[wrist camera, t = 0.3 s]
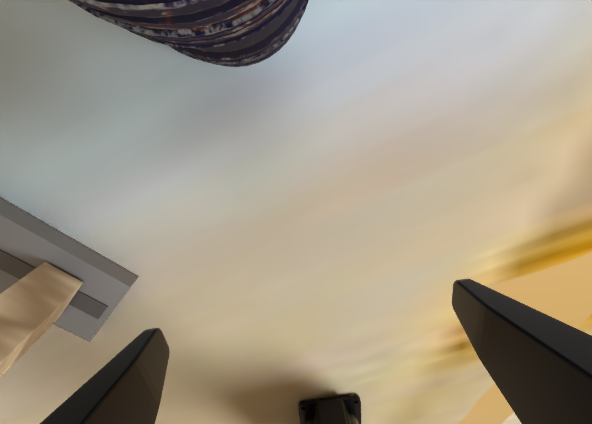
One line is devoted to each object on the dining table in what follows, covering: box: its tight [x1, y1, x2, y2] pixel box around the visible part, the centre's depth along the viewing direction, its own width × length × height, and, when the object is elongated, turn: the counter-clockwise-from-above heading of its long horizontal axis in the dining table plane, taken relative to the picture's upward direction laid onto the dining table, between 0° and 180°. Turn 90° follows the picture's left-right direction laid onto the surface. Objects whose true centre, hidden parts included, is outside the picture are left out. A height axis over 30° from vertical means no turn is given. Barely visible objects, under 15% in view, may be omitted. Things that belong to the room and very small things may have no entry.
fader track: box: [0, 198, 138, 342], centre depth 23 cm, size 16×7×2 cm, turn 51°
